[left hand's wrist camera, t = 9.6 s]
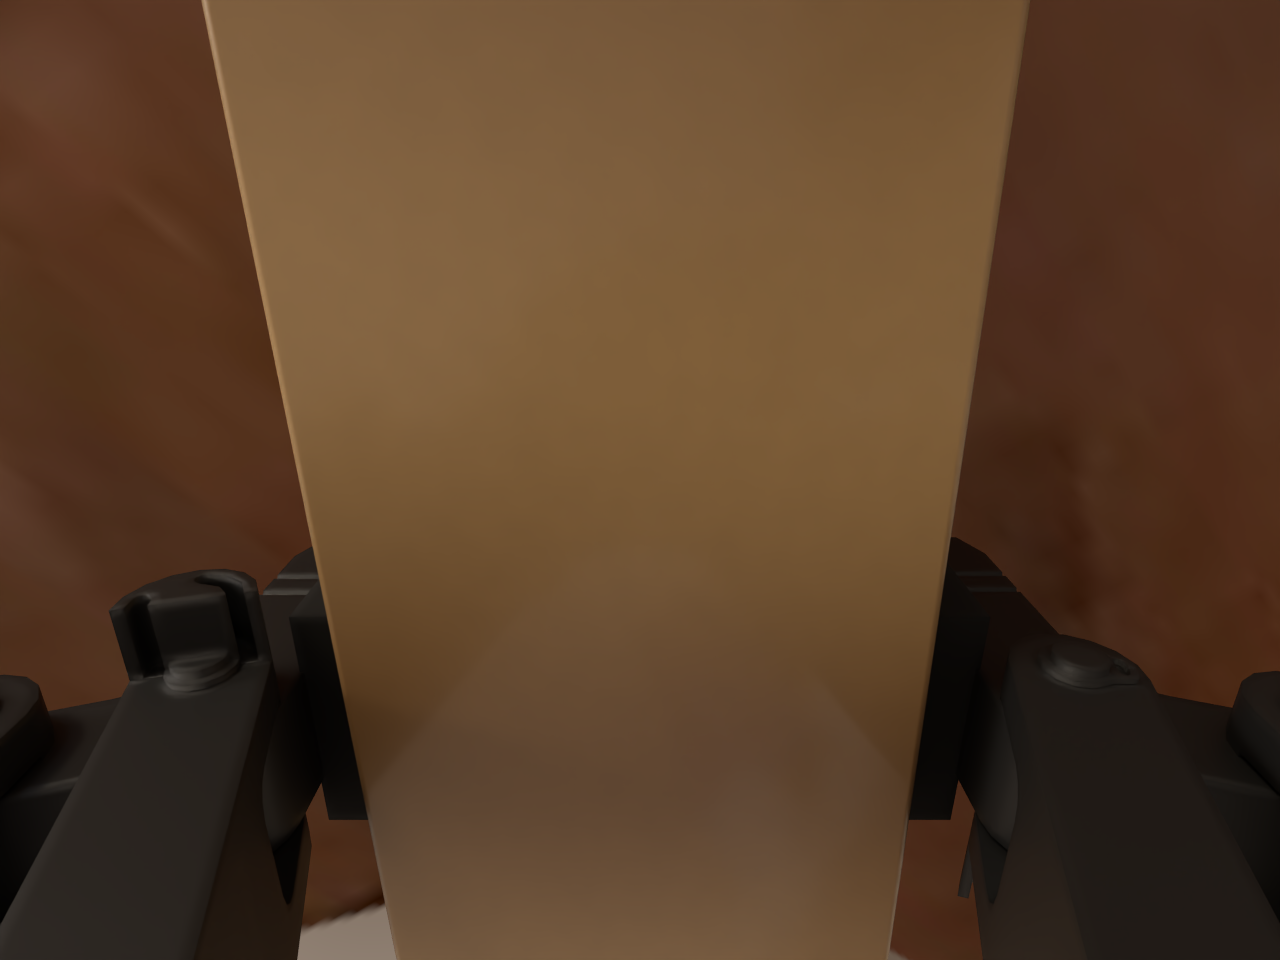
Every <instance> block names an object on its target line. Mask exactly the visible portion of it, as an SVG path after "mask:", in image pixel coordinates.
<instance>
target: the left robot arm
mask: <svg viewBox="0 0 1280 960" xmlns="http://www.w3.org/2000/svg"><path fill="white" fill-rule="evenodd" d="M263 592H264V593H263V595H259V593H258V588H257V583H256V580H255V579H254V578H252V577H251V576H249V575H248V574H246V573H245V572H239V571H234V570H228V569H213V570H198V571H193V572H188V573H183V574H178V575H172V576H170V577H167V578H164V579H161V580H158V581H155V582H152V583H149V584H146V585H144V586H142V587H141V588H139V589H137V590H135V591H133V592H131V593H130V594H128V595H126V596H124V597H123V598H122V599H120V600H119V601H118V602H117V603H116V604H115V605H114V606H113V607H112V608H111V609H110V610H109V613H110V616H111V620H112V623H113V626H114V630H115V633H116V636H117V640H118V643H119V646H120V650H121V653H122V656H123V660H124V663H125V666H126V670H127V673H128V676H129V680H130V682H129V684H128V686H127V688H126V689H125V691H124V693H123V695H122V697H119V698H115V699H111V700H106V701H101V702H95V703H90V704H85V705H79V706H74V707H69V708H64V709H58V710H53V711H48V710H47V708H46V705H45V702H44V699H43V696H42V693H41V691H40V688H39V685H38V684H36V683H35V682H33V681H32V680H30V679H29V678H27V677H22V676H12V675H0V960H297V956H298V949H299V941H300V933H301V925H302V917H303V910H304V902H305V894H306V886H307V878H308V871H309V863H310V855H311V847H312V845H311V839H310V832H309V827H308V822H307V818H306V811H307V809H308V807H309V805H310V803H311V801H312V799H313V797H314V796H315V794H316V792H317V790H318V788H319V786H320V784H321V782H322V787H323V792H324V797H325V802H326V807H327V812H328V817H329V820H368V816H367V811H366V806H365V801H364V796H363V791H362V787H361V782H360V777H359V772H358V767H357V762H356V757H355V752H354V747H353V742H352V737H351V732H350V728H349V723H348V718H347V713H346V708H345V703H344V698H343V693H342V688H341V683H340V678H339V674H338V669H337V664H336V659H335V654H334V649H333V644H332V639H331V634H330V629H329V624H328V619H327V615H326V610H325V605H324V600H323V595H322V590H321V585H320V580H319V575H318V570H317V565H316V561H315V556H314V551H313V546H312V547H310V548H309V549H307V550H305V551H303V552H301V553H300V554H298V555H296V556H295V557H294V558H293V559H292V560H291V561H290V562H289V563H288V564H287V565H286V567H285V568H284V569H283V570H282V571H281V572H280V573H279V574H278V579H274V580H273V581H272V582H271V583H270V584H269V585H268V586H267V587H266V589H265V590H264V591H263ZM958 779H959V781H960V783H961V785H962V787H963V789H964V791H965V793H966V795H967V797H968V798H969V800H970V802H971V804H972V806H973V808H974V810H975V813H974V818H973V822H972V827H971V832H970V836H969V841H968V846H967V851H966V855H965V860H964V865H963V869H962V874H961V879H960V885H959V891H958V896H960V897H965V898H968V897H969V893H970V888H971V884H972V882H973V884H974V892H975V900H976V908H977V915H978V923H979V931H980V939H981V947H982V954H983V960H1280V671H1272V672H1262V673H1254V674H1252V675H1251V676H1249V677H1248V678H1246V679H1245V680H1243V681H1242V683H1241V685H1240V688H1239V691H1238V694H1237V697H1236V700H1235V702H1234V705H1233V708H1230V707H1225V706H1219V705H1214V704H1209V703H1203V702H1198V701H1193V700H1187V699H1182V698H1176V697H1171V696H1166V695H1162V694H1158V693H1157V692H1156V690H1155V688H1154V686H1153V684H1152V682H1151V680H1150V679H1149V678H1148V677H1147V676H1146V675H1145V673H1144V672H1143V671H1142V670H1141V669H1140V668H1139V666H1138V665H1136V664H1135V663H1133V662H1132V661H1130V660H1129V659H1127V658H1126V657H1124V656H1123V655H1121V654H1119V653H1118V652H1116V651H1114V650H1112V649H1109V648H1107V647H1104V646H1102V645H1099V644H1097V643H1095V642H1092V641H1089V640H1085V639H1080V638H1076V637H1072V636H1067V635H1059V634H1058V633H1057V632H1056V631H1055V629H1054V628H1053V627H1052V626H1051V625H1050V624H1049V623H1048V622H1047V621H1046V620H1045V619H1044V617H1043V616H1042V615H1041V614H1040V613H1039V612H1038V611H1037V610H1036V609H1035V608H1034V607H1033V605H1032V604H1031V603H1030V602H1029V601H1028V600H1027V599H1026V598H1025V597H1024V596H1023V595H1022V593H1021V592H1017V591H1016V587H1015V586H1014V585H1013V584H1012V583H1011V581H1010V580H1009V579H1008V578H1007V577H1006V576H1002V572H1001V571H1000V569H999V568H998V567H997V566H996V565H995V564H994V563H993V562H992V561H991V560H990V559H989V558H988V556H987V555H986V554H985V553H983V552H981V551H979V550H978V549H976V548H974V547H972V546H971V545H969V544H967V543H965V542H963V541H962V540H960V539H958V538H956V537H951V538H950V545H949V552H948V559H947V565H946V572H945V579H944V585H943V592H942V599H941V606H940V612H939V619H938V626H937V633H936V639H935V646H934V653H933V660H932V666H931V673H930V680H929V686H928V693H927V700H926V707H925V713H924V720H923V727H922V734H921V740H920V747H919V754H918V761H917V767H916V774H915V781H914V788H913V794H912V801H911V808H910V815H909V820H950V819H951V814H952V809H953V804H954V799H955V794H956V789H957V784H958Z"/></svg>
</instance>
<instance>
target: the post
mask: <svg viewBox="0 0 1280 960" xmlns="http://www.w3.org/2000/svg"><path fill="white" fill-rule="evenodd" d="M202 5H203V10H204V15H205V20H206V25H207V30H208V35H209V40H210V45H211V50H212V55H213V59H214V64H215V69H216V74H217V79H218V84H219V89H220V94H221V99H222V104H223V109H224V113H225V118H226V123H227V128H228V133H229V138H230V143H231V148H232V153H233V158H234V163H235V168H236V172H237V177H238V182H239V187H240V192H241V197H242V202H243V207H244V212H245V217H246V222H247V226H248V231H249V236H250V241H251V246H252V251H253V256H254V261H255V266H256V271H257V276H258V281H259V285H260V290H261V295H262V300H263V305H264V310H265V315H266V320H267V325H268V330H269V335H270V339H271V344H272V349H273V354H274V359H275V364H276V369H277V374H278V379H279V384H280V389H281V394H282V398H283V403H284V408H285V413H286V418H287V423H288V428H289V433H290V438H291V443H292V448H293V452H294V457H295V462H296V467H297V472H298V477H299V482H300V487H301V492H302V497H303V502H304V507H305V511H306V516H307V521H308V526H309V531H310V536H311V541H312V546H313V551H314V556H315V561H316V565H317V570H318V575H319V580H320V585H321V590H322V595H323V600H324V605H325V610H326V615H327V619H328V624H329V629H330V634H331V639H332V644H333V649H334V654H335V659H336V664H337V669H338V674H339V678H340V683H341V688H342V693H343V698H344V703H345V708H346V713H347V718H348V723H349V728H350V732H351V737H352V742H353V747H354V752H355V757H356V762H357V767H358V772H359V777H360V782H361V787H362V791H363V796H364V801H365V806H366V811H367V816H368V821H369V826H370V831H371V836H372V841H373V845H374V850H375V855H376V860H377V865H378V870H379V875H380V880H381V885H382V890H383V895H384V900H385V904H386V909H387V914H388V919H389V924H390V929H391V934H392V939H393V944H394V948H395V953H396V958H397V960H888V956H889V949H890V942H891V936H892V929H893V922H894V916H895V909H896V902H897V895H898V889H899V882H900V875H901V868H902V862H903V855H904V848H905V841H906V835H907V828H908V821H909V815H910V808H911V801H912V794H913V788H914V781H915V774H916V767H917V761H918V754H919V747H920V740H921V734H922V727H923V720H924V713H925V707H926V700H927V693H928V686H929V680H930V673H931V666H932V660H933V653H934V646H935V639H936V633H937V626H938V619H939V612H940V606H941V599H942V592H943V585H944V579H945V572H946V565H947V559H948V552H949V545H950V538H951V532H952V525H953V518H954V511H955V505H956V498H957V491H958V484H959V478H960V471H961V464H962V457H963V451H964V444H965V437H966V431H967V424H968V417H969V410H970V404H971V397H972V390H973V383H974V377H975V370H976V363H977V356H978V350H979V343H980V336H981V329H982V323H983V316H984V309H985V303H986V296H987V289H988V282H989V276H990V269H991V262H992V255H993V249H994V242H995V235H996V228H997V222H998V215H999V208H1000V201H1001V195H1002V188H1003V181H1004V175H1005V168H1006V161H1007V154H1008V148H1009V141H1010V134H1011V127H1012V121H1013V114H1014V107H1015V100H1016V94H1017V87H1018V80H1019V73H1020V67H1021V60H1022V53H1023V47H1024V40H1025V33H1026V26H1027V20H1028V13H1029V6H1030V0H202Z"/></svg>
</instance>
